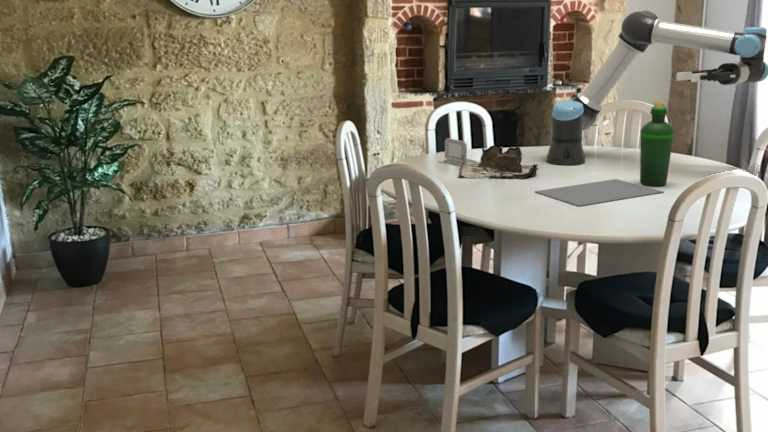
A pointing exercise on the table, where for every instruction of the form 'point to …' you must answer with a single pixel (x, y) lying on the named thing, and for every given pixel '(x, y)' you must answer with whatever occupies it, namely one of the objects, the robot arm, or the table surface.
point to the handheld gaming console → (457, 153)
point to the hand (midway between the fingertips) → (684, 77)
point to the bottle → (656, 148)
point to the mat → (598, 192)
